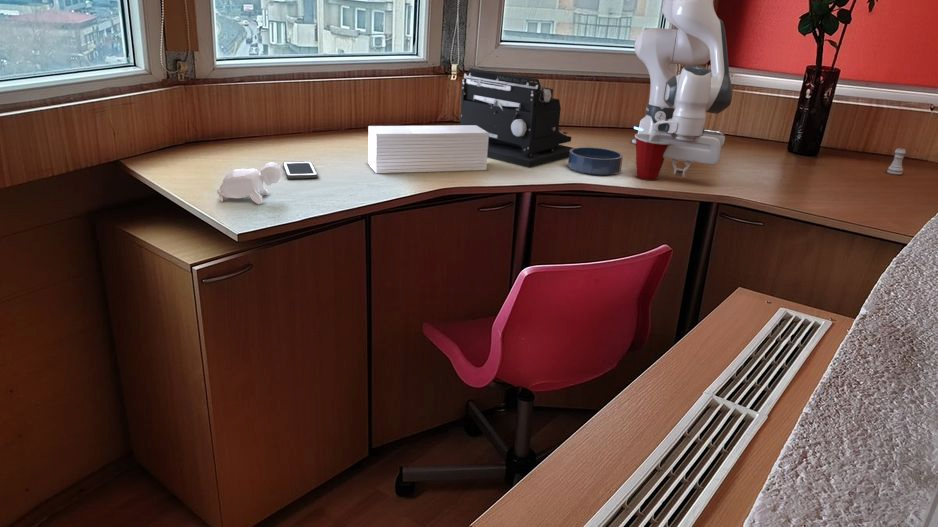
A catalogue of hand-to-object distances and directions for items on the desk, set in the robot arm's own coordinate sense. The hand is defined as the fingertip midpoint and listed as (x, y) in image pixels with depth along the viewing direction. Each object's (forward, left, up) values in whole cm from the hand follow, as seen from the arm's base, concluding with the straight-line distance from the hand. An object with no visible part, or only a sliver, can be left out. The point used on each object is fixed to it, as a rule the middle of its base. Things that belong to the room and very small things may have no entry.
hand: (679, 175), depth 203 cm
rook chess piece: (-58, +59, -2) cm, 83 cm away
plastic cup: (0, -9, -2) cm, 9 cm away
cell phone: (+54, -91, -2) cm, 106 cm away
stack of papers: (+28, -66, -2) cm, 72 cm away
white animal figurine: (+80, -85, -2) cm, 117 cm away
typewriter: (-7, -53, -2) cm, 53 cm away
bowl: (0, -25, -2) cm, 25 cm away
